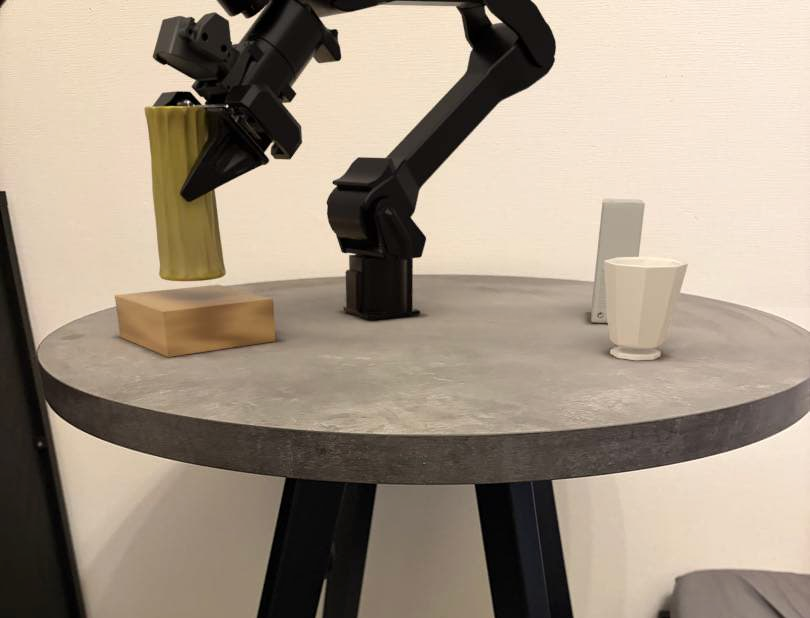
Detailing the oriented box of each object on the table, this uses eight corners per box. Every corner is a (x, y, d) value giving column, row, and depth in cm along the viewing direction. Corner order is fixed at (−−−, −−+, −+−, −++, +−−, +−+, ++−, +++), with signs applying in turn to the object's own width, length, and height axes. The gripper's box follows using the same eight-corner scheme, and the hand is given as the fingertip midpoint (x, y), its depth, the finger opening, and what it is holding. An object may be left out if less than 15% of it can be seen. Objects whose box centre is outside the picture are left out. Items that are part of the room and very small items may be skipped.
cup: (594, 361, 76) (603, 265, 72) (596, 338, 84) (605, 251, 81) (677, 366, 74) (691, 268, 71) (671, 342, 83) (683, 253, 80)
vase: (206, 270, 85) (190, 108, 79) (238, 277, 81) (223, 106, 75) (148, 276, 82) (126, 107, 76) (178, 284, 77) (158, 105, 71)
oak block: (221, 323, 91) (218, 284, 89) (275, 341, 83) (273, 298, 81) (120, 337, 84) (114, 295, 83) (167, 357, 77) (162, 311, 75)
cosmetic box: (631, 325, 91) (645, 202, 85) (590, 323, 91) (601, 201, 86) (630, 314, 96) (642, 198, 91) (590, 313, 97) (601, 198, 92)
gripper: (159, -5, 80) (60, 127, 79) (259, -34, 67) (142, 125, 65) (242, 92, 88) (153, 214, 86) (347, 83, 75) (244, 228, 73)
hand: (170, 196), depth 78 cm, fingers closed on vase, 5 cm apart
